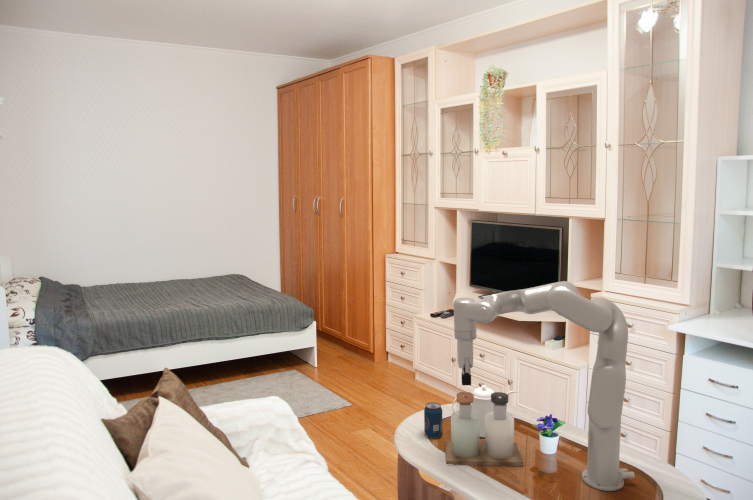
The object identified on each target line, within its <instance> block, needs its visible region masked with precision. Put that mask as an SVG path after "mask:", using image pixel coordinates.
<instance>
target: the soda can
mask: <svg viewBox="0 0 753 500" xmlns="http://www.w3.org/2000/svg"><path fill="white" fill-rule="evenodd" d="M423 412H424V413H423V414H424V415H423V416H424V417H423V418H424V420H423V422H424V427H423V428H424V434H425V436H426V435H427V436H428V437H427V436H426V437H427V438H429V439H438V438H441V436H442V434H443V432H444V431H443V430H444V429H443V408H442V407H441V404H440V403H439V402H427V403H426V404H425V407H424V409H423Z"/></svg>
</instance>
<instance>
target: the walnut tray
mask: <svg viewBox="0 0 753 500" xmlns="http://www.w3.org/2000/svg"><path fill="white" fill-rule="evenodd" d="M444 453H445V464H453V465H452V466H488V467H489V466H497V467H523V466H524V465H523V464H524V462H523V459H522V456H521V452H520V450H519V447H518V444H517V442H514V454H513V456H512V457H510V458H506V459H498V458H493V457H490V456H489V455H487V454H486V453H485V441H479V454H478V455H477V456H475V457H472V458H461V457H457V456H455V455H454V454H453V453H452V452H451V440H449V441H444Z"/></svg>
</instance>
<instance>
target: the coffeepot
mask: <svg viewBox="0 0 753 500" xmlns="http://www.w3.org/2000/svg"><path fill="white" fill-rule="evenodd" d="M495 392H496V391H494V389H492V388H490V387H487V385H486V384H485V385H484V384H483V385H481V386H480V387H477V388H474V390H473V391H472V392H471V393H472V394H473V395H474V402H473V403H471V411H472V412H475V413H477V414H478V415H479V438H483V439H485V415H486V414H487V413H488V412H491V411H493V402H491V394H492V393H495ZM518 393H519V391H517V390H510V391H507V393H506V394H508V396H509V395H510V394H518ZM456 401H457V397H455V398H454V399H453V401H452V406H451V408H454V404H455V402H456ZM507 406H508V403H507V404H506V410H508V409H507V408H508V407H507ZM456 409H459V403H458V402H457V404H456ZM454 412H455V410H454V409H452V413H454Z"/></svg>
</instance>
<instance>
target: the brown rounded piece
mask: <svg viewBox="0 0 753 500" xmlns="http://www.w3.org/2000/svg"><path fill="white" fill-rule="evenodd" d="M456 398H457V399H456V402H457V404H458V403H461V404H470V403H471V404H472V403H473V402H474V395H473V394H472V392H468V391H459V392H457V393H456Z"/></svg>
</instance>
